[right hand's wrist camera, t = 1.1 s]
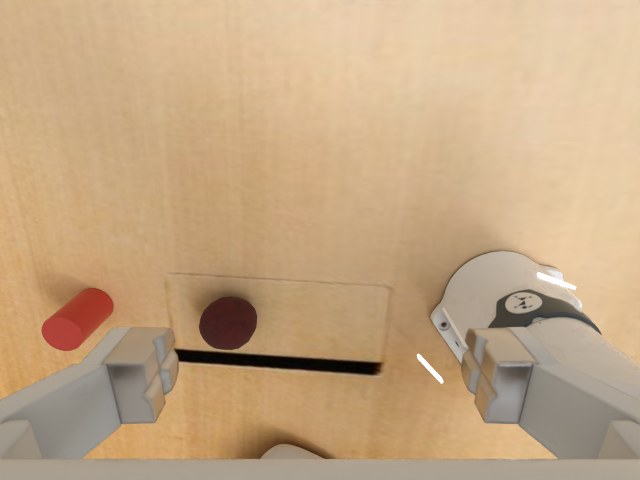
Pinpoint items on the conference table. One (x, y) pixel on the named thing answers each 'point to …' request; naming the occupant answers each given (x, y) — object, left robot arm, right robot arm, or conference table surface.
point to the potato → (228, 323)
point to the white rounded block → (289, 453)
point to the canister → (77, 319)
